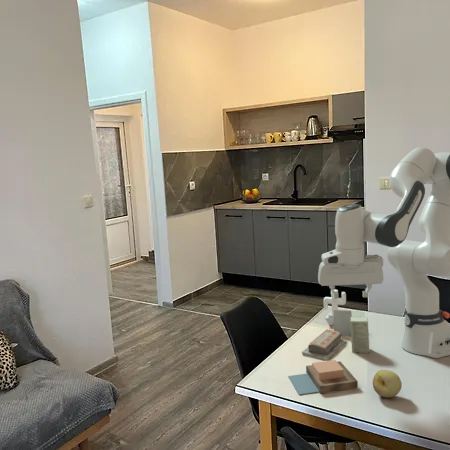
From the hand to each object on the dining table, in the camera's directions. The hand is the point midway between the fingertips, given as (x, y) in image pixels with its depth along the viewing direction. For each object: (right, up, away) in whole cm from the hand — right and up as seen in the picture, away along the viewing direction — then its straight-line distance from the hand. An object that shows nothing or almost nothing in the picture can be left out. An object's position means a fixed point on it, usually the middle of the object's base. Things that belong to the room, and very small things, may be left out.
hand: (350, 297), depth 146 cm
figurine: (+7, -19, +47) cm, 51 cm away
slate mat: (-15, -28, -1) cm, 31 cm away
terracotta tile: (-7, -24, 0) cm, 26 cm away
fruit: (+8, -28, -11) cm, 31 cm away
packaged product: (-3, -24, +24) cm, 34 cm away
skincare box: (+9, -23, +20) cm, 32 cm away
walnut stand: (-6, -27, 0) cm, 28 cm away
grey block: (+7, -21, +36) cm, 42 cm away
